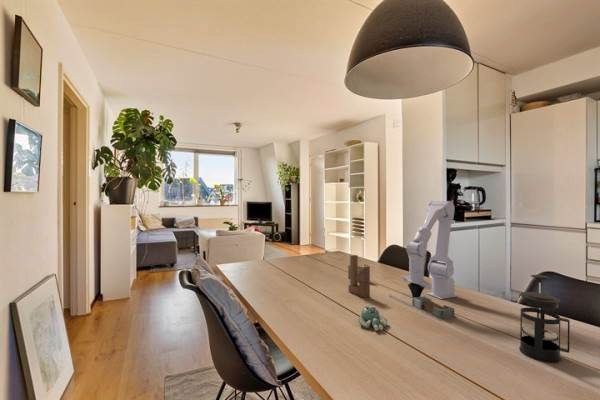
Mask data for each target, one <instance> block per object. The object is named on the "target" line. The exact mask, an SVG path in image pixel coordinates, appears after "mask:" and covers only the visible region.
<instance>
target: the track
mask: <svg viewBox="0 0 600 400" xmlns="http://www.w3.org/2000/svg"><path fill="white" fill-rule="evenodd" d="M402 295H405V296H408V297H409V298H413V296H412V294H411V295H410V294H408V293H406V292H402ZM388 297H391V298H393V299H395V300H396V301H398V302H401V303H403V304H405V305H407V306H409V307H411V308H413V309H416V310H417V311H420V312H422V313H424V314H425V315H428V316H430V317H432V318H434V319H436V320H438V321H441V319H440V318H438V317H436V316H434V315H433V313H431V312H429V311H426V310H423V309H422V308H421V309H419V308H417V307H415V306H413V305H412V303H411V304H410V303H409V302H406V301H404V300H402V299H400V298H398V297H396V296H394V295H392V294H388ZM455 317H457V315H456V314H454V317H453V318H455Z"/></svg>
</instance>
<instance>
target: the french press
mask: <svg viewBox="0 0 600 400" xmlns="http://www.w3.org/2000/svg"><path fill="white" fill-rule="evenodd" d="M530 277H531V278H533V279H537V283H538V292H537V291H535V292H534V291H523V292H520V296H521V297H522V298H523V301H524V303H525V304H526V305H528V306H530V307H522V308H520V324H519V325H520V330H519V331H520V336H519V337H520V344H519V345H520V346H519V347H518V348H519V352H521V353H522V354H523V355H524V356H526V357H528V358H530V359H532V360H534V361H538V362H542V363H547V364H558V363H560V362H561V361H562V357H561V352H564V353H570V340H571V339H570V338H571V337H570V331H571V330H570V329H571V328H570V319H569V318H566V317H565V318H564V317H561V316H560V315H559V314H557V313H555V312H553V311H550V310H556V309H559V303H561V299H560V298H558V297H556V296H554V295H552V294H547V293H542V291H541V288H542V287H541V286H542V285H541V284H542V283H543V280H549V279H550V277H548V276H546V275H542V274H531V275H530ZM527 313H535V314H536V316H532V315H529V314H527ZM545 316H549V317H552V318H553V319H547V318H545ZM523 318H524V319H526V320H529V321H530V322H534V325H525V326H523ZM561 322H565V323H567V348H563V347H561ZM545 325H554V326H555V325H558V334H557V333H556V332H554V331H552V330H550V329H547V328H545ZM523 334H525V335H523ZM556 341H558V343H556Z"/></svg>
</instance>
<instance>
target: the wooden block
mask: <svg viewBox="0 0 600 400" xmlns="http://www.w3.org/2000/svg"><path fill="white" fill-rule="evenodd" d="M349 257H350V258H349V259H350V260H349V262H350V263H349V265H350V279H349V280H350V281H349V283H350V284H348V292H349V293H351V294H354V295H356V296H358V297H362V298H363V299H365V298H370V295H371V294H370V293H371V289H370V287H371V286H370V283H371V282H370V281H371V277H370V276H371V275H370V274H371V271H370V270H371V269H370V268H371V267H370V265H368V267H364V266H363V267H364V268H363V269H362V270H361V271H360V272H359V273H358V266H359V262H358V260H359V257H358V254H350V255H349ZM358 280H359V281H358Z"/></svg>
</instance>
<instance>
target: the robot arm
mask: <svg viewBox="0 0 600 400" xmlns="http://www.w3.org/2000/svg"><path fill="white" fill-rule="evenodd" d="M426 209H427V215H426V217H425V221H424V222H423V224H422V226H421V227H418V229H417V231H416V233H415V235H414V237H413V239H412V240H411V241H410V242H407V245H406V248H405V250H406V253H407V258H408V260H409V261H408V265H409V267H408V271H409V272H408V273H409V274H408V275H402V280H403V281H407V282H408V284H407V287H408V288H409V290H410V293H411V296H413V298H416V297H422V293H423V291H424V290H425V289H426V290H431V292H427V295H430V296H432V297H435V298H437V299H439V300H444V299H450V298H456V297H457V295H455V288H456V287H455V286H456V285H455V280H454V278H453V277H452V276H453V275H454V273H455V271H454V270H455V269H454V261H453V260H452V259H451V258H450V257H449V247H450V246H449V245H450V236H451V227H452V221H453V220H454V216H455V204H454V203H453V202H452V201H451V200H447V201H445V200H444V201H443V200H442V201H441V200H438V201H437V200H431V201H430V202H429V203H428V205H427V207H426ZM437 222H438V226H437V234H436V235H437V236H436V244H435V245H436V246H435V254H434V255H432V256H431V257H429V262H428V264H427V270H428V273H429V274H430V276H431V283H430V282H428V281H427V280H425V279H424V277H425V275H424V273H425V272H424V269H425V268H424V265H425V264H424V262H425V261H424V258H425V257H424V256H425V255H426V254H427V250H428V242H429V240H430V238H431V237H432V231H431V230H432V229H433V227H434V225H435V224H436V223H437Z"/></svg>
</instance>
